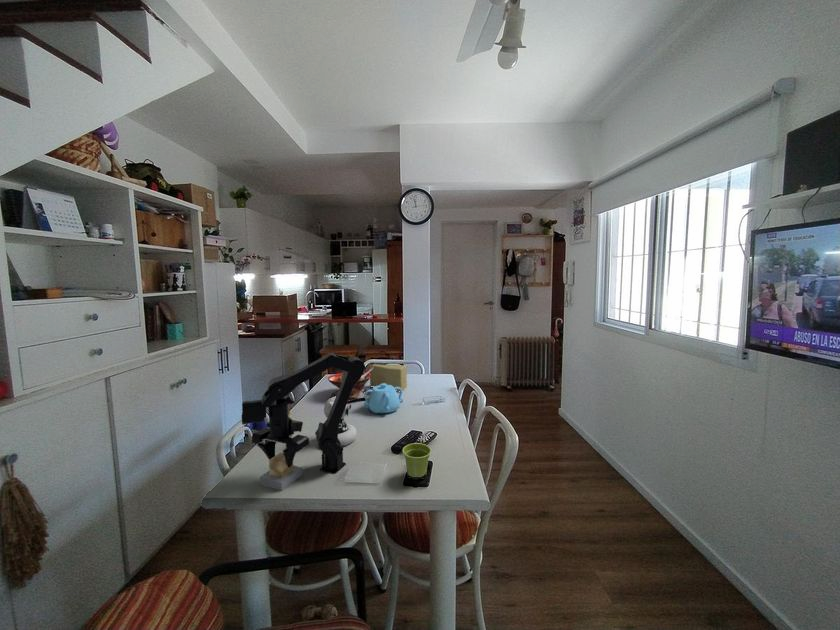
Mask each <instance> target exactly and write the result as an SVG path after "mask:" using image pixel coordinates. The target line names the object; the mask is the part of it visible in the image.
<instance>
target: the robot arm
mask: <svg viewBox="0 0 840 630" xmlns="http://www.w3.org/2000/svg"><path fill="white" fill-rule="evenodd" d="M330 368H335V369H339V370H341V371H342V373H343V378H342V383H341V385H340V388H338V390H337V391H338V392H336V394H337V395H336V398H335V400H334V403H333V405H332V408H331V411H330V413H329V416H328V418H327V417H326V420H325V421H324V422H323V423H322V422H319V423H318V426H317V429H316V431H315V432H314V434H315V439H316V442H317V445H318V448H319V449H320V451H321V453H322V454H321V467H319V471H320V472H324V473H325V472H326V473H329V474H333V475H336V474H337V473H338V472H339V471H340V470H342V469H343V468H344V467H345V466H346V465H347V463H346V462H344V455H343V454H344V452H343V451H344V446H342V445H341V443H340V441H339V439H338V429H339V423H340V421H341V418H342V415H343V413H344V410H345V408H346V405H348V402H349V401H348V400H349V397H350V395H351V392H352V390H353V387H354V385H355V384H356V383H357V382H358V381H359V380H360V378H361V377H362V375H363V373H365V371H366V365H365V363H364V362H363V361H362V360H361V359H360V358H359V357H357V356H349V357H348V356H343V355H339V354H335V353H332V352H330V353H326V355H324V356H322V357H320V358H318V359H317V360H314V361H313V362H311V363H308V364H307V365H304V366H303V367H301V368H300V369H297V370H295V371H293V372H291V373H285V374H282V375H279V376H276V377H273V378H272V379H270V380H269V381H268V383H267V387H266V388H267V389H266V391H265V392H264V394H263V395H262V396H261V399H255V400H245V401H242V403H241V407H242V409H241V411H242V412H241V424H242V426H243V425H244V426H245V425H248V424H250V425H251V424H255V423H261V422H264V421H265V418H267V408H268V421H269V422H267V423H266V427H264V428H262V429H260V430H257V431H255V432H254V433H253V434H252V435H251V443H252V444H257V447H259V448H260V450H262V452H263V453H264V455H265V456H266V457H267V459H268V461H269V460H270V459H271V458H273V457H274V456H276V444H277V443H279V444H285V448H286V449H284V450H282V453H284V456H285V460H286V463H287V466H288V468H289V467H291V466H292V463H293V464H294V459H295V457H296V453H299V452H300V451H301V450H303V449H304V448H306V447H308V446H309V445H310V441H309V440H310V439H309V437H308V436H307V435H301V434H297V435H295V436H293V435H294V434H295V433H296V432H298V433H300V432H302V429H303V424H304V421H300V420H293V419H292V418H291V416H290V417H289V415H288V406H289V405H290V404H295V400H294V397H292V396H291V395H290V394H292V392H293V391H294V390H295V389H297V388H298V386H299V385H301V384H303V383H305V382H307V381H309V380H310V379H312V378H314V377H316V376H318V375H320V374H321V373H324V372H325V371H327V370H329V369H330ZM284 397H285V398H284ZM290 418H291V419H290ZM290 435H292V437H291V438H290V437H289V436H290Z"/></svg>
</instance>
